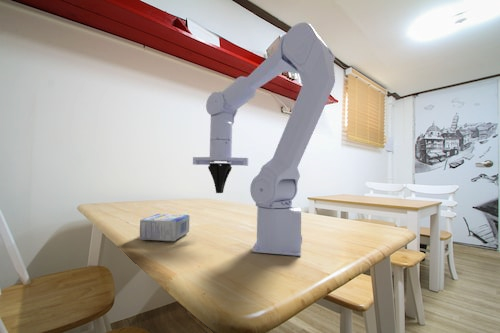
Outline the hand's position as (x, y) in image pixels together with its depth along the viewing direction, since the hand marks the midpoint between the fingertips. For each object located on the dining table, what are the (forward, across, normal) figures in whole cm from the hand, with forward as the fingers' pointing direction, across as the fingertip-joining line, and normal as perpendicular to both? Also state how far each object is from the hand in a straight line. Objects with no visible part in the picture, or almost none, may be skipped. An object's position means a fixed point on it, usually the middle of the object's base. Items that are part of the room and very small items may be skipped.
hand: (219, 192), depth 59 cm
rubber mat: (+10, +11, +6) cm, 16 cm away
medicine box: (+8, +6, +7) cm, 12 cm away
